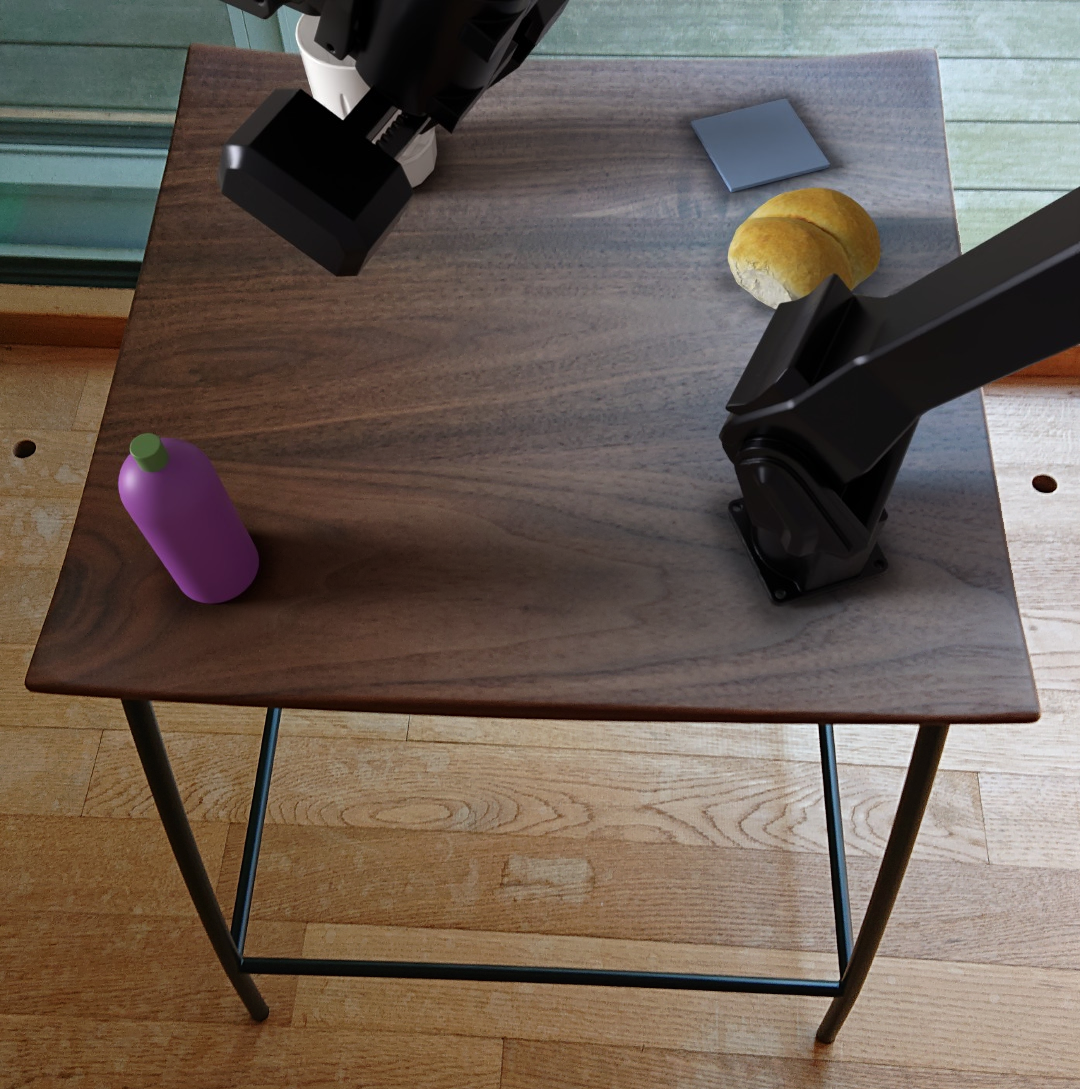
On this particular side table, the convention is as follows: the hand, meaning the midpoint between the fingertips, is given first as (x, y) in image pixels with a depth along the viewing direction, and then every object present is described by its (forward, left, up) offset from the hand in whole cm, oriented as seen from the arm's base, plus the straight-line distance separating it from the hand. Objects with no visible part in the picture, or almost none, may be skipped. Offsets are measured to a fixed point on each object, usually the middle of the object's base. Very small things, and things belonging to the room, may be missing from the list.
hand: (364, 187), depth 51 cm
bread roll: (+1, -25, -15) cm, 29 cm away
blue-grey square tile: (+12, -27, -15) cm, 33 cm away
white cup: (+19, -3, -15) cm, 24 cm away
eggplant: (-9, +13, -15) cm, 21 cm away
